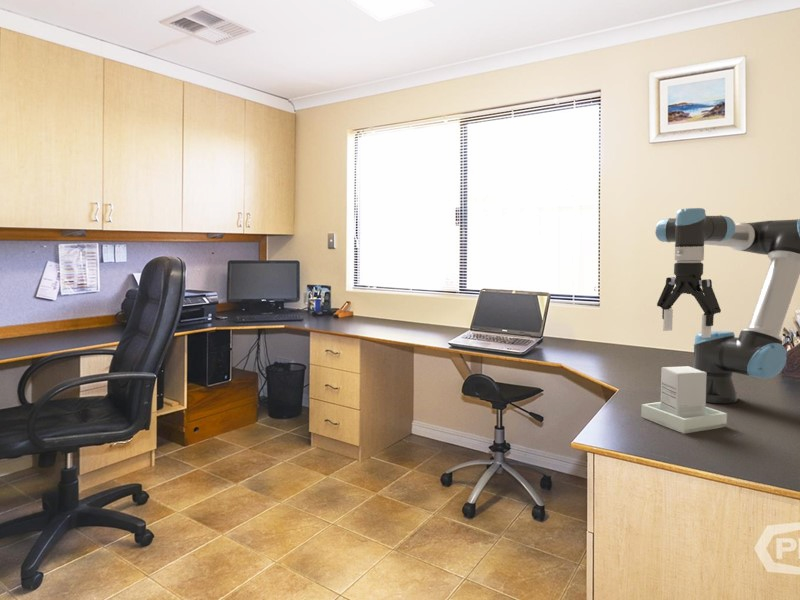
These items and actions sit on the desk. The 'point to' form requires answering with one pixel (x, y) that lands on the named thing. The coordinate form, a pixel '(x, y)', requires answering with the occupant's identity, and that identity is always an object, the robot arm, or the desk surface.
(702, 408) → the supplement box
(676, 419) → the tote
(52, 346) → the desk surface
